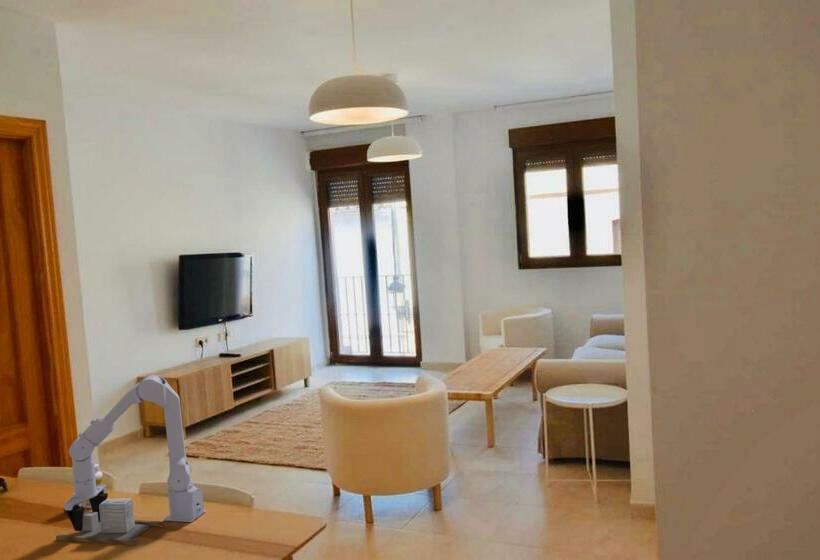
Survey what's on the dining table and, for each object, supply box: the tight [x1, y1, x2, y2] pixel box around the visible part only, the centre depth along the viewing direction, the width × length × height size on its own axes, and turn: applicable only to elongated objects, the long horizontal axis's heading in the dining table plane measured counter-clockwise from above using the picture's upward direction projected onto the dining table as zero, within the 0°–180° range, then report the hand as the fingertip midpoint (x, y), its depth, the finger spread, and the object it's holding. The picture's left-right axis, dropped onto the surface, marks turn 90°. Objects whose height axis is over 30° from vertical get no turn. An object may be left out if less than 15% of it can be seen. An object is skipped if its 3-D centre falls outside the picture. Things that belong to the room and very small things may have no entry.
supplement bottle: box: [81, 463, 105, 509], centre depth 207 cm, size 7×7×13 cm
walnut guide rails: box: [55, 519, 164, 546], centre depth 185 cm, size 26×13×1 cm, turn 76°
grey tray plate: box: [74, 511, 150, 539], centre depth 185 cm, size 18×9×5 cm, turn 76°
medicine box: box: [99, 497, 135, 533], centre depth 184 cm, size 8×4×9 cm, turn 84°
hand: (88, 524), depth 187 cm, fingers open, 7 cm apart
